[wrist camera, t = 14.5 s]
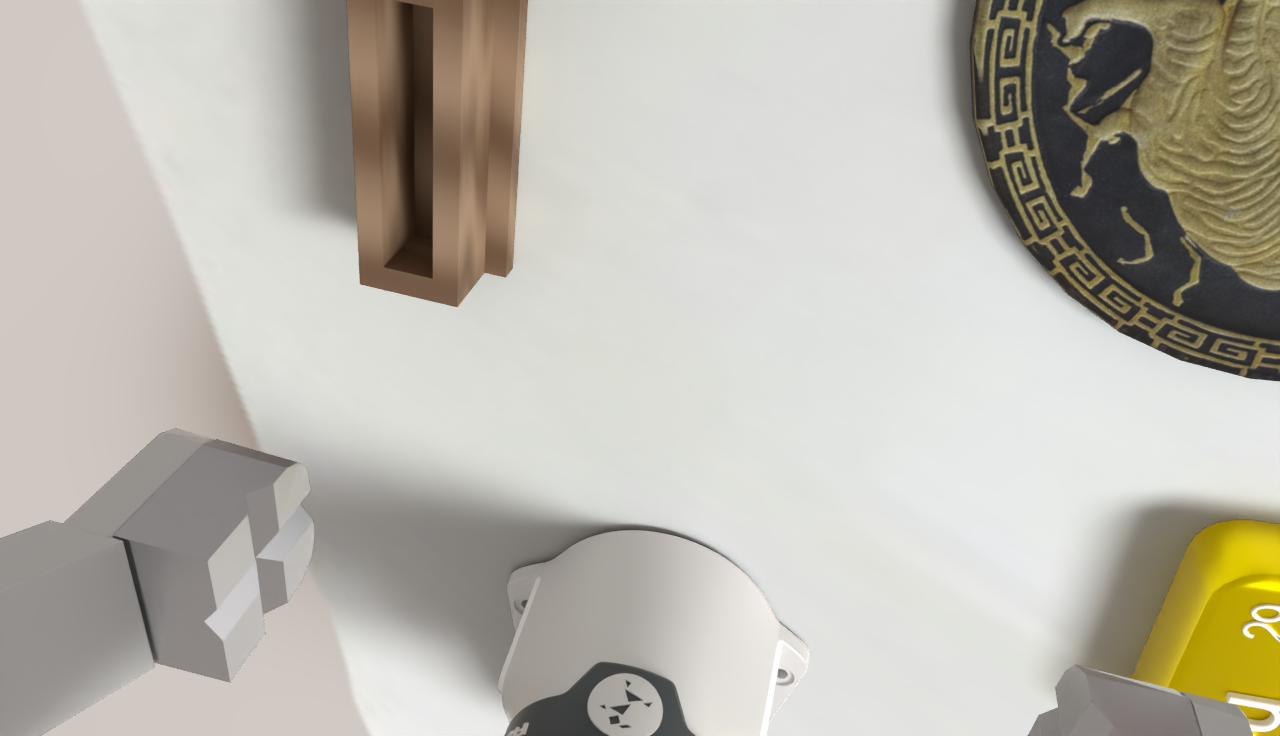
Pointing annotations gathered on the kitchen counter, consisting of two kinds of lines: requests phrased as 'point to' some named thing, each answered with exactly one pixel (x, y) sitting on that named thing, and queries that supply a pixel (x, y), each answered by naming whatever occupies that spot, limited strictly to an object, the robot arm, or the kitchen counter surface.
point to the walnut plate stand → (435, 141)
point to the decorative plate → (1143, 163)
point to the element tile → (1223, 623)
